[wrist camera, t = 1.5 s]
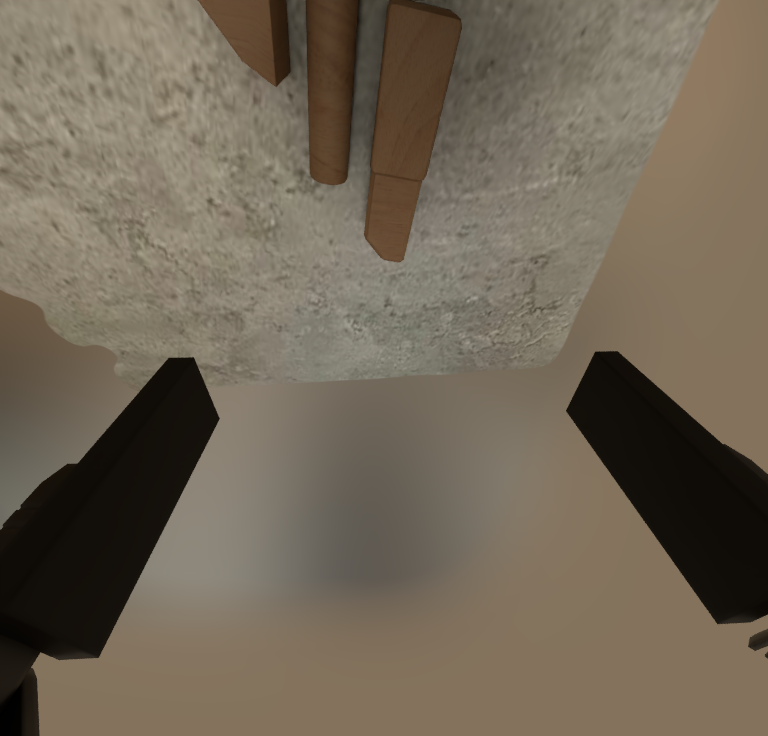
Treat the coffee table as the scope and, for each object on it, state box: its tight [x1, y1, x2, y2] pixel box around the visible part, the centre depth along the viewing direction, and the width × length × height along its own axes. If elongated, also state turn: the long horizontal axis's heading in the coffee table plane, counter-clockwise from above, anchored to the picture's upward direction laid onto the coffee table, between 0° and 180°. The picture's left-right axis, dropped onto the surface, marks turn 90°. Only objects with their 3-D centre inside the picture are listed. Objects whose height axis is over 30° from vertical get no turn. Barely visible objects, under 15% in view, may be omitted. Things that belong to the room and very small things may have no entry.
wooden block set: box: [198, 0, 462, 262], centre depth 25 cm, size 17×6×18 cm
